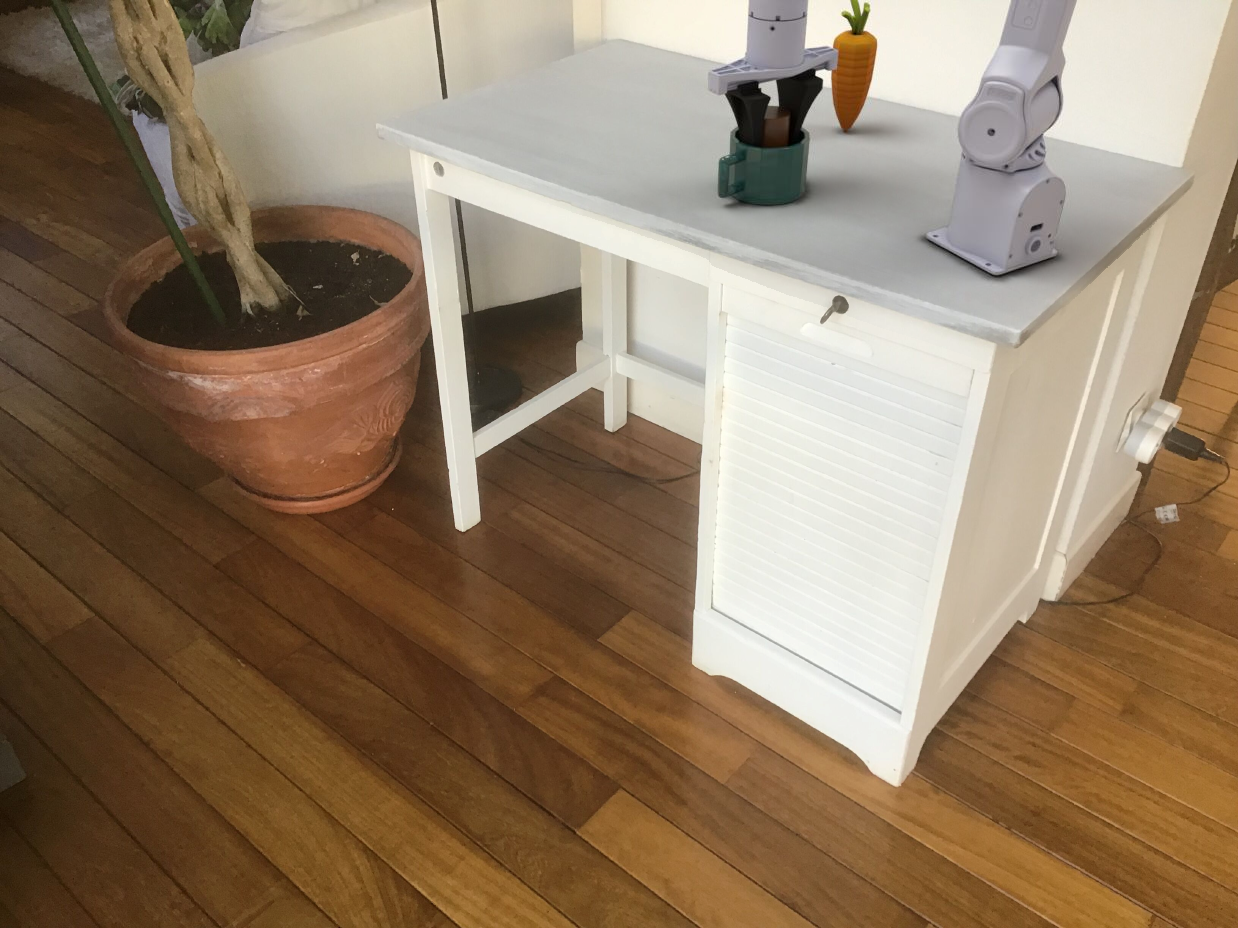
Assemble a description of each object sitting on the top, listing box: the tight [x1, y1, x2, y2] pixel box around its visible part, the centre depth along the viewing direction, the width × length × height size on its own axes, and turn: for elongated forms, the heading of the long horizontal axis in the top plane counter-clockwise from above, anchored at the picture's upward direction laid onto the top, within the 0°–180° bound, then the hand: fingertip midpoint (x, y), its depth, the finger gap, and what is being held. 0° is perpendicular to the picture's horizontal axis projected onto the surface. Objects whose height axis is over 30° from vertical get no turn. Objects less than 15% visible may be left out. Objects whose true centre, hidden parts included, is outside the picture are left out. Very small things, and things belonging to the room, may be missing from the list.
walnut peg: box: [761, 105, 790, 148], centre depth 107 cm, size 4×4×6 cm
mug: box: [717, 125, 811, 206], centre depth 108 cm, size 11×8×6 cm
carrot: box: [830, 0, 878, 132], centre depth 119 cm, size 5×5×15 cm
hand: (769, 150), depth 108 cm, fingers closed on walnut peg, 4 cm apart
